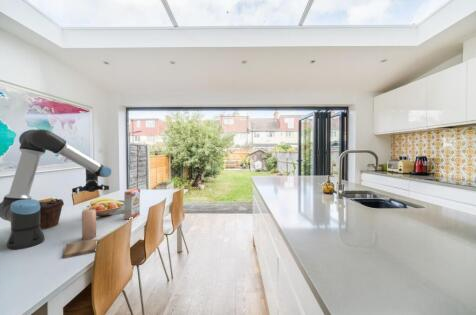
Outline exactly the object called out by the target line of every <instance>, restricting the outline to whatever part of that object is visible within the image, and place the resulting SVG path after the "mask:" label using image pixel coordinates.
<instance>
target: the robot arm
mask: <svg viewBox="0 0 476 315" xmlns="http://www.w3.org/2000/svg"><path fill="white" fill-rule="evenodd" d="M18 142H19V147H18V148H19V149H18V150H19V151H20V152H21V154H20V157H19V159H18V160H19V161H18V164H17V167H16V170H15V173H14V177H13V179H12V182H11V186H10V189H9V193H6V194H5V195H4V196H3V199H2V201H1V202H0V218H1V220H4V221H8V222H10V233H9V237H8V238H7V241H6V248H7V249H9V250H20V249H27V248H29V247H30V248H31V247H34V246H37V245H39V244H41V243H43V242H44V241H45V238H46V237H45V236H46V235H45V234H44V232H43V229H41V227H40V203H39V202H40V200H37V199H33V198H32V196H31V195H30V193H31V190H32V187H33V183H34V180H35V176H36V173H37V169H38V166H39V162H40V160H41V156H43V155H45V153H46V151H49V152H51V153H53V154H58V155H61V156H62V157H64V158H65V159H68V160H70V161H71V162H73V163H75V164H77V165H79V166H80V167H82V168H83V169H85V185H84V186H83V185H79V186H76V187H73V188H71V193H73V194H74V193H75V194H76V195H77V196H78V195H79V194H80V192H81V193H82V192H89V193H93V192H96V191H102V193H105V191H106V190H107V191H109V190H110V186H109V185H105V184H100V185H99V177H102V178H108V177H110V176H111V175H112V169H111V167H109V166H105V165H103V164H102V163H100V162H98V161H97V160H95V159H93V158H92V157H90V156H88V155H86V154H85V153H84V152H82V151H81V150H79V149H77V148H75V147H73V146H72V145H71V144H69V143H68V142H67V140H65V139H64V138H63V137H61V136H60V135H57V134H55V133H54V132H52V131H50V130H48V129H44V128H43V129H28V130H26V131H23V132H22V133H21V134H20V135H19V137H18Z"/></svg>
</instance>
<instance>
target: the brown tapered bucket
mask: <svg viewBox="0 0 476 315" xmlns="http://www.w3.org/2000/svg"><path fill="white" fill-rule="evenodd" d="M39 203H40V227H41V230H43V229H49V228H53V227H56V226H57V225H59V222H60V216H61V214H62V209H63V206H64V205H65V203H64V200H63V199H62V198H59V199H58V198H54V199H52V200H49V201H39Z"/></svg>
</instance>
